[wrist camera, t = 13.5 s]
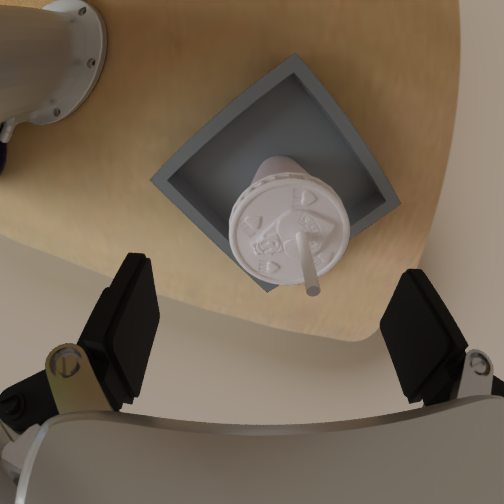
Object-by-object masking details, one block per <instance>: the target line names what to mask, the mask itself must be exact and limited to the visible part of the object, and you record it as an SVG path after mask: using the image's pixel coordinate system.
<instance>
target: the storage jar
mask: <svg viewBox="0 0 504 504" xmlns="http://www.w3.org/2000/svg"><path fill="white" fill-rule="evenodd" d="M3 126H4V125H3V122H2V124H1V126H0V133H1V131H2V129H3ZM6 155H7V143H4V142H2V141H0V175H1V173H2V171H3V169H4V166H5V162H6Z"/></svg>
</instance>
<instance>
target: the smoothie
mask: <svg viewBox="0 0 504 504" xmlns="http://www.w3.org/2000/svg"><path fill="white" fill-rule="evenodd" d="M349 236H350V223H349V218H348V215H347V212H346V210H345V208H344V206H343V203H342V201H341V199H340V197H339V196H338V195H337V194H336V192H335V191H334V190H333V189H332V187H330V186H329V185H327V184H326V183H324V182H323V181H321V180H320V179H319V178H316V177H313V176H311V175H310V174H309V173H308V172H306V171H305V170H304V169H303V168H302V167H301V166H300V165H299V164H298V163H297V162H296V161H294V160H293V159H291V158H289V157H287V156H281V155H278V156H273V157H270V158H268V159H266V160H265V161H264V162H263V163H262V164H261V165H260V167H259V169H258V171H257V173H256V175H255V177H254V179H253V181H252V183H251V185H250V186H249V187H248V188H247V189H246V190H245V191H244V192H243V193H242V194H241V195H240V197H239V198H238V200H237V201H236V203H235V204H234V206H233V209H232V212H231V216H230V219H229V242H230V246H231V250H232V252H233V255H234V256H235V258H236V260H237V261H238V263H239V264H240V265H241V266H242V267H243V268H244V269H245V270H246V271H247V272H248V273H250V274H251V275H253V276H254V277H256V278H258V279H260V280H263V281H265V282H268V283H272V284H278V285H296V284H302V283H305V287H306V293H307V295H309V296H312V297H313V296H317V295H318V294H319V293H320V291H321V290H320V285H319V281H318V277H320V276H322V275H324V274H325V273H327V272H328V271H329V270H331V269H332V268H333V267H334V266H335V265H336V264H337V263H338V261H339V260H340V259H341V257H342V256H343V254H344V252H345V250H346V248H347V245H348V241H349Z"/></svg>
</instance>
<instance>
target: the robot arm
mask: <svg viewBox="0 0 504 504" xmlns="http://www.w3.org/2000/svg"><path fill="white" fill-rule="evenodd" d="M106 50H107V32H106V27H105V23H104V20H103V18H102V16H101V14H100V13H99V11H98V10H97V9H96V8H95V7H94V6H93V5H92V4H90V3H88V2H86V1H83V0H56V1H53V2H51V3H49V4H47V5H45V6H44V7H42V8H40V9H37V8H29V7H20V6H7V5H0V126H1V124H2V122H4V121H6V123H5V125H4V126H3V129H2V131H1V133H0V141H2V142H4V143H7V142H9V141H10V139H11V137H12V134H13V132H14V129H15V126H16V125H18V124H19V123H22V122H25V121H27V122H29V123H31V124H37V125H45V124H50V123H54V122H57V121H59V120H61V119H64V118H66V117H68V116H69V115H70V114H72V113H73V112H74V111H76V110H77V109H78V108H79V107H80V106H81V105H82V104H83V103H84V101H85V100H86V99H87V97H88V96H89V95H90V93H91V92H92V90H93V88H94V86H95V85H96V83H97V81H98V79H99V76H100V74H101V71H102V68H103V65H104V61H105V57H106ZM159 319H160V312H159V307H158V302H157V296H156V290H155V285H154V278H153V272H152V266H151V260H150V258H146V256H145V254H143V253H128V254H127V256H126V258H125V260H124V261H123V263H122V265H121V267H120V268H119V270H118V272H117V274H116V276H115V278H114V279H113V281H112V283H111V285H110V287H107V288H105V289H104V290H103V292H102V294H101V296H100V298H99V300H98V301H97V303H96V305H95V307H94V309H93V311H92V313H91V315H90V317H89V319H88V321H87V324H86V325H85V327H84V330H83V332H82V334H81V336H80V338H79V340H78V342H77V344H73V343H65V344H62V345H59V346H57V347H56V348H54V349H53V350H52V351H51V352H50V353H49V355H48V356H47V358H46V362H45V370H42V371H41V372H38V373H36V374H34V375H32V376H31V377H28V378H27V379H24V380H23V381H21V382H18V383H16V384H14V385H12V386H11V387H8V388H7V389H5V390H4V391H3V392H2V393H1V394H0V504H504V382H503V381H502V380H500V379H499V378H497V377H496V376H494V375H493V365H492V362H491V360H490V359H489V357H488V356H487V355H486V354H485V353H484V352H482V351H480V350H476V349H472V350H470V351H469V352H468V353H467V354H466V352H465V349H466V348H467V347H468V344H467V342H466V340H465V338H464V336H463V334H462V333H461V331H460V329H459V327H458V326H457V324H456V322H455V321H454V319H453V317H452V316H451V314H450V312H449V310H448V309H447V307H446V305H445V304H444V302H443V301H442V299H441V297H440V296H439V294H438V293H437V291H436V290H435V288H434V287H433V285H432V284H431V282H430V281H429V279H428V278H427V276H426V275H425V273H424V272H423V271H422V270H421V269H407V270H406V272H404V273H403V274H402V276H401V278H400V280H399V283H398V285H397V287H396V289H395V291H394V294H393V296H392V298H391V300H390V302H389V304H388V306H387V309H386V311H385V313H384V315H383V317H382V319H381V321H380V330H381V333H382V335H383V338H384V340H385V343H386V346H387V348H388V351H389V354H390V356H391V359H392V362H393V364H394V367H395V370H396V373H397V376H398V379H399V382H400V385H401V388H402V390H403V393H404V395H405V396H406V397H407V398H408V401H409V404H411V403H415V402H420V401H421V400H422V399H423V402H424V404H423V407H422V408H418V409H413V410H408V411H404V412H398V413H393V414H387V415H382V416H375V417H369V418H362V419H354V420H346V421H336V422H325V423H312V424H292V425H291V424H290V425H240V424H219V423H206V422H195V421H184V420H175V419H167V418H158V417H152V416H146V415H138V414H130V413H123V412H120V411H119V410H120V409H121V408H122V405H123V403H127V404H132V403H133V400H134V397H138V396H139V394H140V390H141V386H142V382H143V378H144V374H145V371H146V367H147V363H148V359H149V356H150V351H151V348H152V345H153V341H154V337H155V334H156V331H157V327H158V324H159Z"/></svg>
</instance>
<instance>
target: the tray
mask: <svg viewBox="0 0 504 504" xmlns="http://www.w3.org/2000/svg"><path fill="white" fill-rule="evenodd" d="M278 155H281V156H287V157H289V158H291V159H293V160H294V161H296V162H297V163H298V164H299V165H300V166H301V167H302V168H303V169H304V170H305V171H306V172H308V173H309V174H310V175H311V176H313V177H316V178H319V179H320V180H321V181H323V182H324V183H326V184H327V185H329V186H330V187H332V189H333V190H334V191H335V192H336V194H337V195H338V196H339V197H340V199H341V201H342V203H343V206H344V208H345V210H346V212H347V215H348V218H349V223H350V236H349V240H350V239H351V238H353V237H354V236H355V235H357V234H358V233H360V232H361V231H363V230H364V229H366V228H367V227H369V226H370V225H372V224H373V223H374V222H376V221H377V220H379V219H380V218H382V217H383V216H385V215H386V214H387V213H389V212H390V211H392V210H393V209H395V208H396V207H397V206H399V205H400V204H401V202H400V200H399V199H398V197H397V195H396V193H395V191H394V190H393V188H392V186H391V184H390V183H389V181H388V179H387V177H386V176H385V174H384V172H383V171H382V169H381V167H380V166H379V164H378V162H377V161H376V159H375V158H374V156H373V154H372V153H371V151H370V150H369V148H368V147H367V145H366V144H365V142H364V140H363V139H362V137H361V136H360V134H359V133H358V132H357V130H356V129H355V127H354V126H353V124H352V123H351V121H350V120H349V119H348V117H347V116H346V114H345V113H344V112H343V110H342V109H341V108H340V106H339V105H338V104H337V102H336V101H335V100H334V98H333V97H332V96H331V94H330V93H329V92H328V91H327V89H326V88H325V87H324V86H323V84H322V83H321V82H320V81H319V79H318V78H317V77H316V76H315V75H314V73H313V72H312V71H311V70H310V69H309V67H308V66H307V65H306V64H305V63H304V62H303V60H302V59H301V58H300V57H299V56H298V55H297V54H296V53H295V54H293V55H292V56H291V57H289V58H288V59H286V60H285V61H284V62H282V63H281V64H279V65H278V66H277V67H275V68H274V69H273V70H271V71H270V72H269V73H267V74H266V75H265V76H263V77H262V78H261V79H259V80H258V81H257V82H256V83H254V84H253V85H252V86H250V87H249V88H248V89H247V90H245V91H244V92H243V93H242V94H241V95H239V96H238V97H237V98H236V99H234V100H233V101H232V102H231V103H230V104H229V105H227V106H226V107H225V108H224V109H223V110H222V111H220V112H219V113H218V114H217V115H216V116H215V117H214V118H212V119H211V120H210V121H209V122H208V123H207V124H206V125H205V126H204V127H202V128H201V129H200V130H199V131H198V132H197V133H196V134H195V135H194V136H193V137H192V138H191V139H190V140H188V141H187V142H186V143H185V144H184V145H183V146H182V147H181V148H180V149H179V150H178V151H177V152H176V153H175V154H174V155H173V156H172V157H171V158H170V159H169V160H168V161H167V162H166V163H165V164H164V165H163V166H162V167H161V168H160V169H159V170H158V171H157V172H156V173H155V174H154V176H153V177H152V178H151V179H150V181H151V182H152V183H153V184H154V185H155V186H156V187H157V188H158V189H159V190H160V191H161V192H162V193H163V194H164V195H165V196H166V197H167V198H168V199H169V200H170V201H171V202H172V203H173V204H174V205H176V206H177V207H178V208H179V209H180V210H181V211H182V212H183V213H184V214H185V215H186V216H187V217H188V218H189V219H190V220H191V221H192V222H193V223H194V224H195V225H196V226H197V227H198V228H199V229H200V230H201V231H202V232H203V233H204V234H206V235H207V236H208V237H209V238H210V239H211V240H212V241H213V242H214V243H215V244H216V245H217V246H218V247H219V248H220V249H221V250H222V251H223V252H224V253H225V254H226V255H228V256H229V257H230V258H231V259H232V260H233V261H234V262H235V263H236V264H237V265H238V266H239V267H240V268H241V269H242V270H243V271H244V272H246V273H247V274H248V275H249V276H250V277H251V278H252V279H253V280H254V281H255V282H256V283H257V284H258V285H259V286H260V287H262V288H263V289H264V290H265V291H266V292H267V293H268V292H269V291H271V290H272V289H274V288H276V287H277V286H279V285H278V284H272V283H268V282H265V281H263V280H260V279H258V278H256V277H254V276H253V275H251V274H250V273H248V272H247V271H246V270H245V269H244V268H243V267H242V266H241V265H240V264H239V263H238V261H237V260H236V258H235V256H234V255H233V252H232V250H231V246H230V242H229V219H230V216H231V212H232V209H233V206H234V204H235V203H236V201H237V200H238V198H239V197H240V195H241V194H242V193H243V192H244V191H245V190H246V189H247V188H248V187H249V186H250V185H251V183H252V181H253V179H254V177H255V175H256V173H257V171H258V169H259V167H260V165H261V164H262V163H263V162H264V161H265V160H266V159H268V158H270V157H273V156H278Z"/></svg>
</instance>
